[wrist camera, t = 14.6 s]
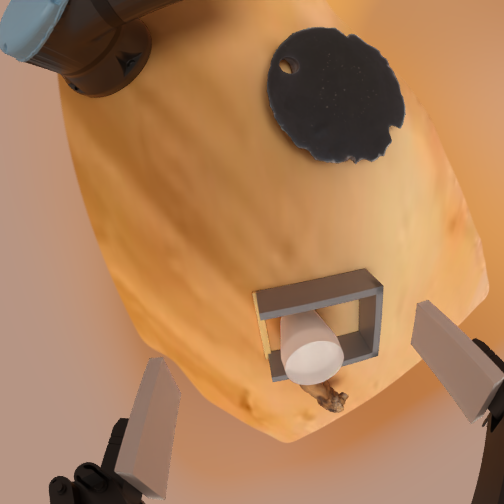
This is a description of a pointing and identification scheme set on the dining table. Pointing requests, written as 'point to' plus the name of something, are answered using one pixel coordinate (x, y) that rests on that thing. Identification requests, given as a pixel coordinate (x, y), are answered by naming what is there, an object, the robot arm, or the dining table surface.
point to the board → (335, 95)
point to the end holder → (321, 296)
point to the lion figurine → (326, 396)
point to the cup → (309, 348)
